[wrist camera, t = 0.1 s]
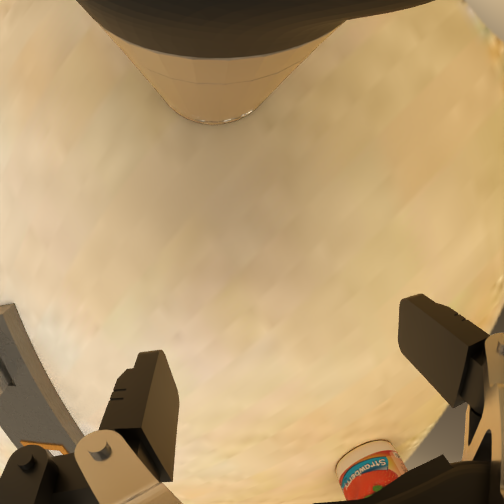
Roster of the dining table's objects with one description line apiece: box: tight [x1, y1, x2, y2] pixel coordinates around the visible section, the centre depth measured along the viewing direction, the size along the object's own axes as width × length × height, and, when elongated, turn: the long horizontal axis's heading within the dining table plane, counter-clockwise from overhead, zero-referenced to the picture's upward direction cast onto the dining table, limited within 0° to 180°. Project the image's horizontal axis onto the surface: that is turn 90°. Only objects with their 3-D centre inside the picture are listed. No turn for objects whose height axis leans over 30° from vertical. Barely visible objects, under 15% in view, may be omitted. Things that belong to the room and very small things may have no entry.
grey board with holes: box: [0, 304, 84, 457], centre depth 28 cm, size 28×12×3 cm, turn 9°
